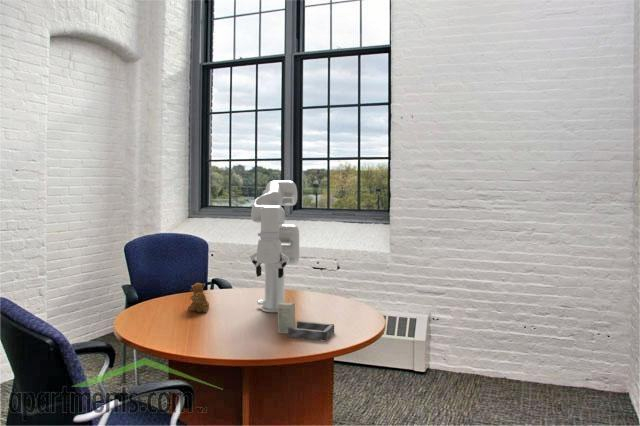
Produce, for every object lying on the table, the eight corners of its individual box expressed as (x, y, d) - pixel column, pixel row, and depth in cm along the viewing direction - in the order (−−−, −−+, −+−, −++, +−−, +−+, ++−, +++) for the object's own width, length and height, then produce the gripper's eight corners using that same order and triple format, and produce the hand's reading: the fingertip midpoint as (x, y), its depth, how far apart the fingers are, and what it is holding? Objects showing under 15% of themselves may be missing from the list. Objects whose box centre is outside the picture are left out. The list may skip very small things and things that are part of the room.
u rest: (287, 336, 210) (287, 328, 209) (298, 328, 221) (298, 320, 221) (325, 341, 205) (325, 332, 205) (334, 332, 216) (334, 324, 216)
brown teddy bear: (207, 306, 258) (207, 280, 258) (213, 313, 246) (213, 285, 245) (187, 308, 255) (186, 281, 254) (191, 315, 242) (191, 287, 241)
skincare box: (295, 331, 217) (295, 302, 216) (291, 334, 213) (291, 305, 212) (281, 330, 219) (281, 301, 219) (277, 332, 215) (277, 303, 214)
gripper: (247, 236, 215) (246, 277, 216) (286, 237, 210) (285, 279, 211) (254, 234, 223) (254, 274, 223) (292, 236, 217) (292, 276, 218)
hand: (269, 276), depth 217 cm, fingers open, 9 cm apart
